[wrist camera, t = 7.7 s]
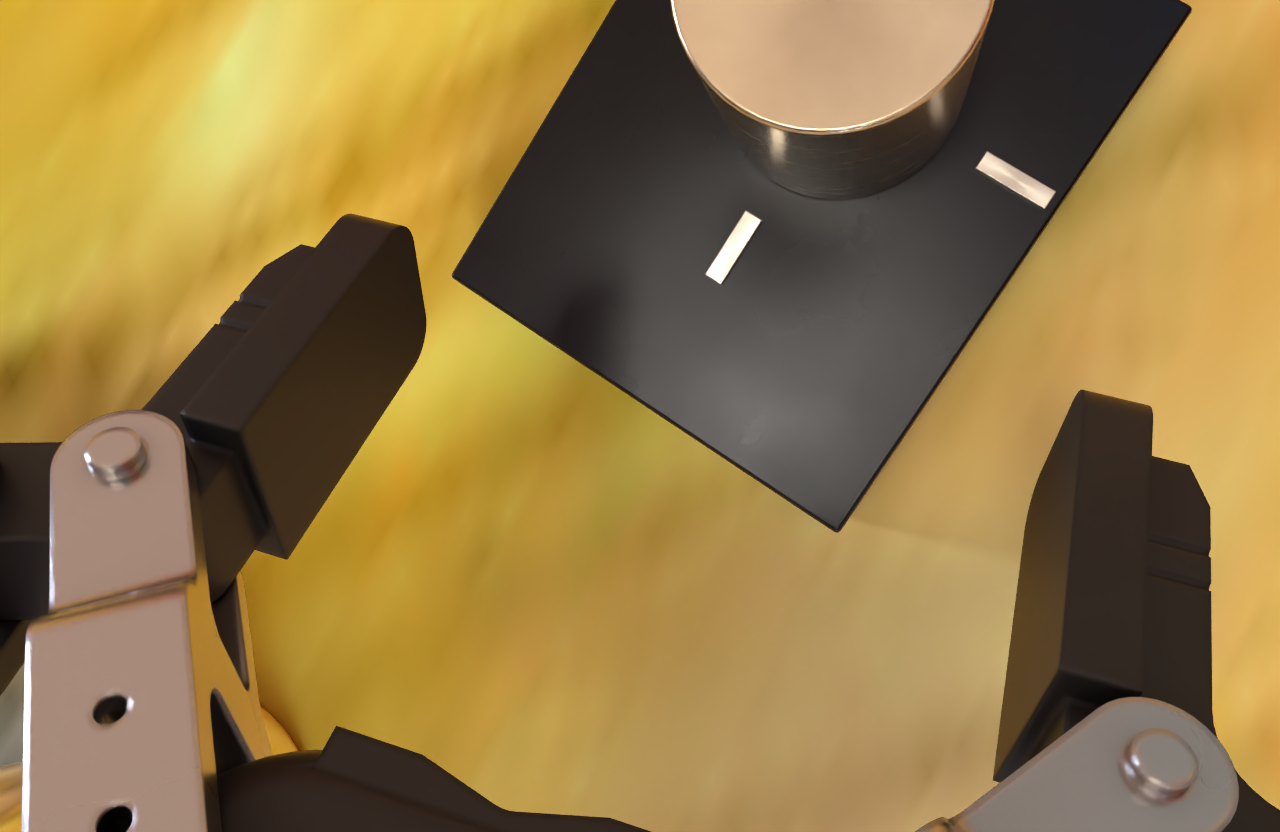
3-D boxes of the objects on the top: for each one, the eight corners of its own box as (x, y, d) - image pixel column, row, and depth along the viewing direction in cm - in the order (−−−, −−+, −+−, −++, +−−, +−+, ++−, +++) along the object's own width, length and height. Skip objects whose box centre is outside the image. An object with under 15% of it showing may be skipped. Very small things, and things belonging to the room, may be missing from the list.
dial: (877, 245, 20) (878, 191, 15) (676, 122, 21) (603, 26, 15) (1017, 31, 20) (1074, -110, 14) (806, -88, 21) (779, -269, 15)
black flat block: (841, 519, 23) (837, 536, 21) (491, 287, 25) (446, 275, 22) (1168, 35, 22) (1208, -13, 19) (775, -183, 23) (762, -255, 21)
